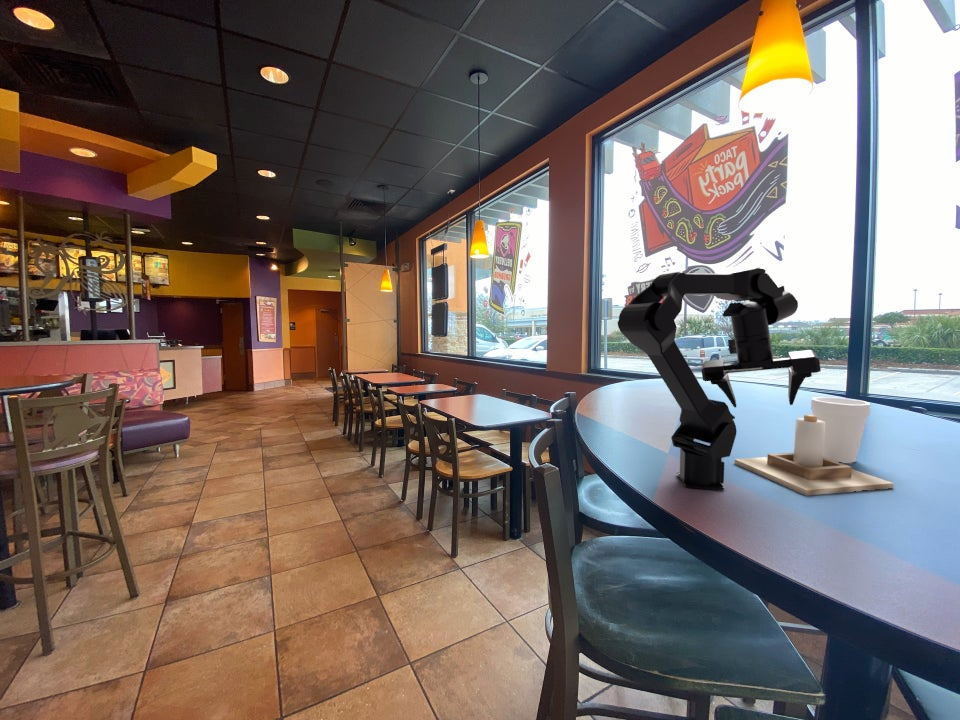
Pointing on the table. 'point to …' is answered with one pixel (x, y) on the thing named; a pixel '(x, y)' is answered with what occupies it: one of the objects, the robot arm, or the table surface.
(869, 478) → the plate
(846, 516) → the table surface
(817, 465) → the white bottle
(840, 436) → the foam cup
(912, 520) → the table surface
